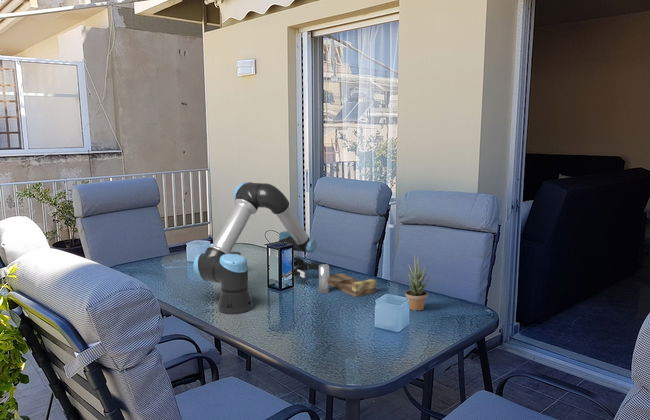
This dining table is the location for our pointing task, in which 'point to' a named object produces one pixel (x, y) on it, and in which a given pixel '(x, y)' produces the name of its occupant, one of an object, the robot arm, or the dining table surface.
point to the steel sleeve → (324, 278)
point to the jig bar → (352, 285)
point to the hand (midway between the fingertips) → (316, 273)
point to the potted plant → (417, 288)
